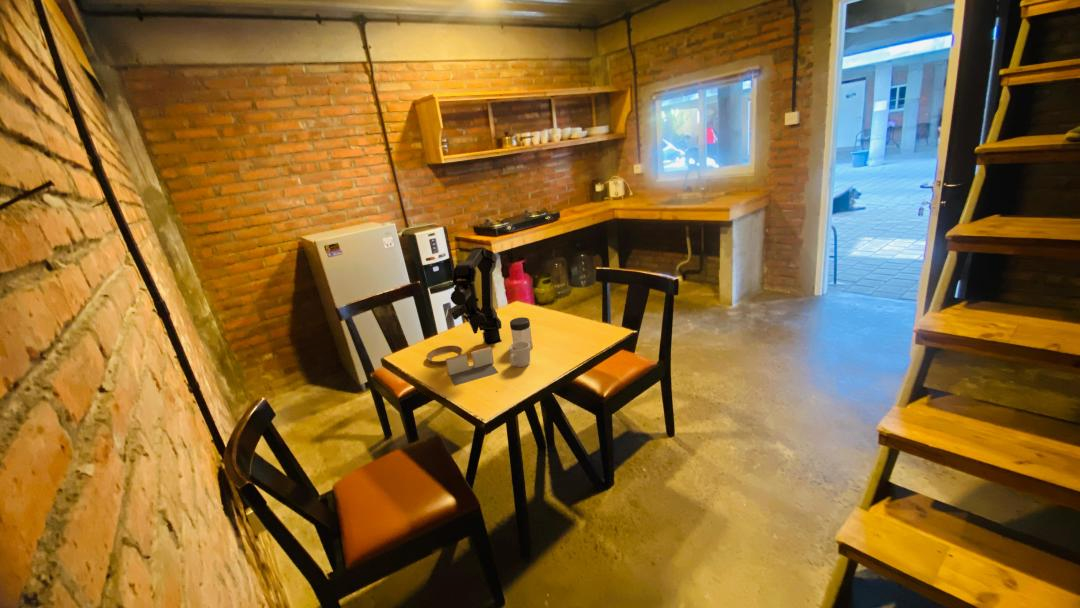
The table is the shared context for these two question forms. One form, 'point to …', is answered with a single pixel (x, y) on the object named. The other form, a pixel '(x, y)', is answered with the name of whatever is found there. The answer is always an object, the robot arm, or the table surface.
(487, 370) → the mat
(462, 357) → the tile
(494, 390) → the table surface
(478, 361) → the tile
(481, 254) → the robot arm
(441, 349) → the brown ring
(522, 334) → the jar
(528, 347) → the cup
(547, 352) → the table surface
